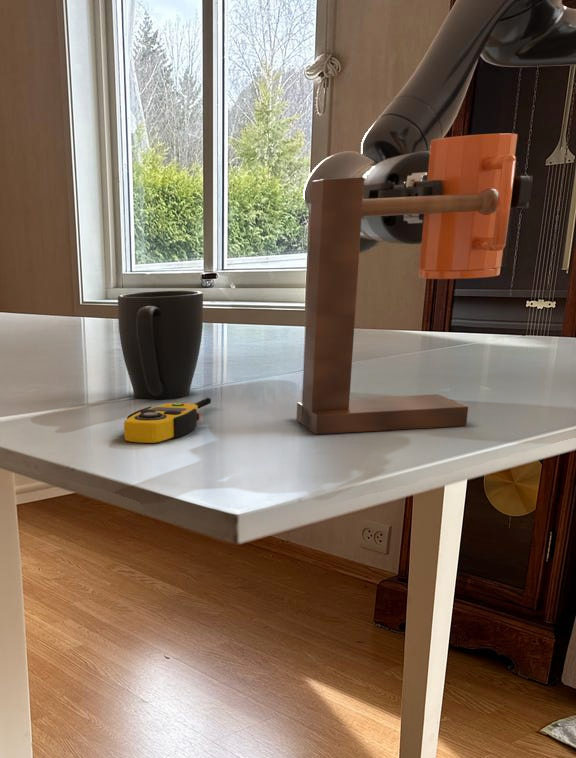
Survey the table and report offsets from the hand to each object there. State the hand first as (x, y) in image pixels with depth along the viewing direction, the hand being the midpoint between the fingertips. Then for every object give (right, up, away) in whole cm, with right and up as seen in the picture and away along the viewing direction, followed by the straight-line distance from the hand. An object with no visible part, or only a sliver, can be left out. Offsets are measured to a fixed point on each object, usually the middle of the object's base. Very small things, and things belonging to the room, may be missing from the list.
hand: (480, 193), depth 70 cm
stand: (-7, -17, +4) cm, 18 cm away
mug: (-24, -11, +20) cm, 33 cm away
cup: (0, -5, +3) cm, 6 cm away
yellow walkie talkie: (-23, -16, +8) cm, 29 cm away
